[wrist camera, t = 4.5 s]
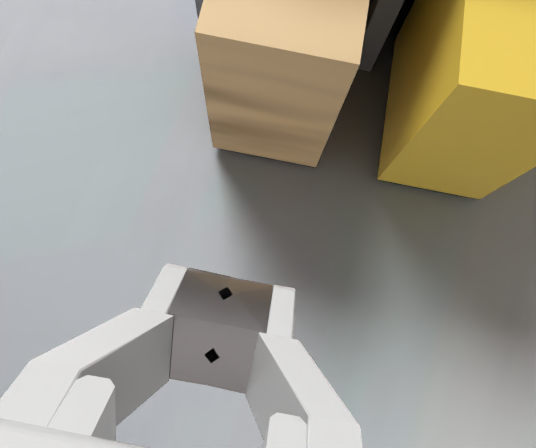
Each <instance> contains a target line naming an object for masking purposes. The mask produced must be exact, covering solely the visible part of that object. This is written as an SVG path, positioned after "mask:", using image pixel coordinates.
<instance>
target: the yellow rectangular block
mask: <svg viewBox="0 0 536 448" xmlns="http://www.w3.org/2000/svg"><path fill="white" fill-rule="evenodd" d="M535 167H536V0H415V2H414V4H413V6H412V8H411V9H410V11H409V13H408V15H407V17H406V19H405V21H404V23H403V25H402V27H401V29H400V31H399V33H398V35H397V37H396V39H395V45H394V52H393V60H392V68H391V76H390V84H389V92H388V100H387V108H386V115H385V123H384V131H383V139H382V147H381V155H380V163H379V171H378V178H377V179H378V180H383V181H388V182H393V183H398V184H404V185H409V186H414V187H419V188H424V189H429V190H434V191H439V192H444V193H449V194H455V195H460V196H465V197H470V198H475V199H481V198H483V197H485V196H486V195H488V194H490V193H492V192H493V191H495V190H497V189H498V188H500V187H502V186H504V185H505V184H507V183H509V182H511V181H512V180H514V179H516V178H517V177H519V176H521V175H523V174H524V173H526V172H528V171H529V170H531V169H533V168H535Z"/></svg>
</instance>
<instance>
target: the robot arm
mask: <svg viewBox="0 0 536 448" xmlns="http://www.w3.org/2000/svg"><path fill="white" fill-rule="evenodd" d="M295 297H296V290H295V288H291V287H285V286H279V285H269V284H264V283H259V282H254V281H249V280H243V279H238V278H233V277H230V276H225V275H221V274H216V273H211V272H207V271H202V270H198V269H193V268H187V267H183V266H178V265H174V264H169V263H167V264H166V265H165V266H163V268H162V270H161V272H160V274H159V276H158V277H157V279H156V281H155V283H154V285H153V287H152V288H151V290H150V292H149V294H148V296H147V298H146V299H145V301H144V303H143V305H142V307H141V309H139V308H132V309H130V310H128V311H126V312H124V313H122V314H120V315H118V316H116V317H114V318H113V319H111V320H109V321H107V322H105V323H103V324H101V325H99V326H97V327H95V328H93V329H91V330H89V331H87V332H85V333H83V334H81V335H79V336H77V337H75V338H73V339H71V340H70V341H68V342H66V343H64V344H62V345H60V346H58V347H56V348H54V349H52V350H50V351H48V352H46V353H44V354H42V355H40V356H38V357H36V358H34V359H32V360H30V361H29V362H28V364H27V365H26V366H25V368H24V369H23V370H22V372H21V373H20V374H19V376H18V377H17V378H16V379H15V381H14V382H13V383H12V385H11V386H10V387H9V389H8V390H7V391H6V392H5V394H4V395H3V396H2V398H1V399H0V448H148V447H143V446H138V445H133V444H128V443H123V442H118V441H116V426H117V425H118V424H119V423H121V422H122V421H123V420H124V419H125V418H126V417H127V416H129V415H130V414H131V413H132V412H133V411H134V410H136V409H137V408H138V407H139V406H140V405H141V404H143V403H144V402H145V401H146V400H147V399H148V398H150V397H151V396H152V395H153V394H154V393H155V392H157V391H158V390H159V389H160V388H161V387H162V386H164V385H165V384H166V383H167V382H168V381H169V379H174V380H180V381H185V382H191V383H197V384H203V385H209V386H213V387H217V388H222V389H226V390H231V391H235V392H239V393H244V394H246V398H247V401H248V403H249V406H250V408H251V411H252V413H253V416H254V418H255V421H256V423H257V426H258V428H259V431H260V433H261V435H262V438H263V440H264V441H263V445H262V448H363V447H362V437H361V427H360V426H359V424H358V423H357V422H356V420H355V419H354V417H353V416H352V415H351V413H350V412H349V410H348V409H347V407H346V406H345V405H344V403H343V402H342V400H341V399H340V397H339V396H338V395H337V393H336V392H335V390H334V389H333V388H332V386H331V385H330V383H329V382H328V380H327V379H326V378H325V376H324V375H323V373H322V372H321V371H320V369H319V368H318V366H317V365H316V363H315V362H314V361H313V359H312V358H311V356H310V355H309V353H308V352H307V351H306V349H305V348H304V346H303V345H302V344H301V342H300V341H299V340H296V339H293V327H294V312H295Z"/></svg>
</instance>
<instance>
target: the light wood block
mask: <svg viewBox="0 0 536 448" xmlns="http://www.w3.org/2000/svg"><path fill="white" fill-rule="evenodd" d="M368 7H369V0H203V4H202V7H201V11H200V15H199V18H198V22H197V25H196V29H195V37H196V43H197V49H198V56H199V62H200V68H201V74H202V81H203V87H204V93H205V99H206V106H207V112H208V118H209V125H210V131H211V137H212V143H213V147H215V148H220V149H225V150H230V151H235V152H240V153H245V154H251V155H256V156H261V157H266V158H271V159H276V160H281V161H286V162H291V163H296V164H302V165H307V166H312V167H316V166H317V164H318V161H319V159H320V157H321V154H322V152H323V149H324V147H325V145H326V142H327V140H328V138H329V135H330V133H331V131H332V128H333V126H334V124H335V121H336V119H337V117H338V114H339V112H340V110H341V107H342V105H343V103H344V100H345V98H346V96H347V93H348V91H349V89H350V86H351V84H352V82H353V79H354V77H355V75H356V72H357V70H358V68H359V65H360V60H361V53H362V47H363V40H364V33H365V27H366V20H367V13H368Z"/></svg>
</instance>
